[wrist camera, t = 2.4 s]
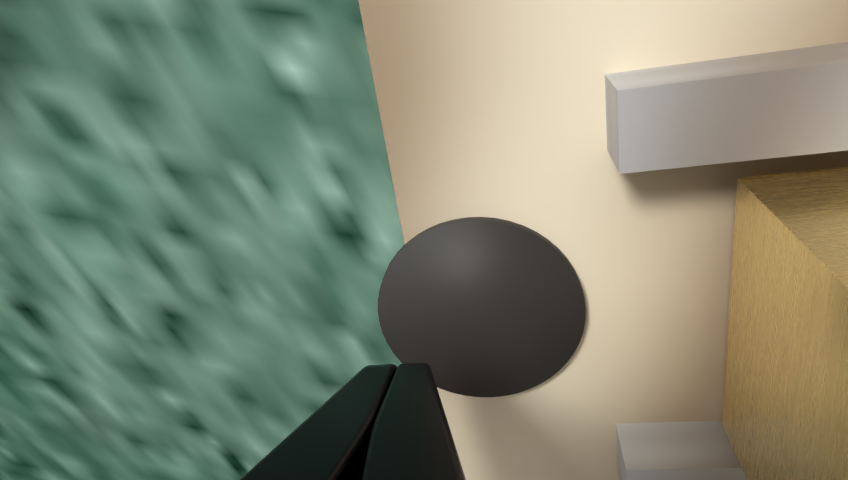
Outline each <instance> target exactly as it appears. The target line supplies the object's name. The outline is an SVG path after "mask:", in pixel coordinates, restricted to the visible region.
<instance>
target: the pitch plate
mask: <svg viewBox="0 0 848 480" xmlns="http://www.w3.org/2000/svg"><path fill="white" fill-rule="evenodd" d="M358 1H359V6H360V11H361V16H362V22H363V27H364V32H365V38H366V43H367V48H368V53H369V59H370V64H371V69H372V75H373V80H374V85H375V91H376V96H377V101H378V106H379V112H380V117H381V122H382V128H383V133H384V138H385V143H386V149H387V154H388V159H389V165H390V170H391V175H392V181H393V186H394V191H395V196H396V202H397V207H398V212H399V218H400V223H401V228H402V233H403V239H404V244H405V245H404V246H403V247H402V248H401V249H400V250H399V251H398V252H397V254H396V255H395V257H394V258H393V259H392V261H391V262H390V264H389V266H388V268H387V270H386V272H385V275H384V278H383V281H382V284H381V287H380V291H379V297H378V314H379V321H380V325H381V328H382V332H383V334H384V337H385V339H386V341H387V343H388V345H389V346H390V348H391V350H392V351H393V353H394V354H395V355H396V357H397V358H398V359H399V360H400V361H401V363H403V364H407V363H427V364H429V365H430V367H431V370H432V373H433V376H434V380H435V383H436V386H437V389H438V392H439V396H440V399H441V402H442V405H443V408H444V411H445V415H446V418H447V421H448V424H449V427H450V431H451V434H452V437H453V440H454V443H455V446H456V450H457V453H458V456H459V459H460V462H461V466H462V469H463V472H464V475H465V478H466V480H747V478H746V476H745V474H744V472H743V470H742V467H741V465H740V463H739V461H738V458H737V456H736V454H735V452H734V450H733V447H732V445H731V443H730V441H729V438H728V436H727V434H726V432H725V430H724V427H723V425H722V412H723V396H724V381H725V365H726V349H727V333H728V317H729V301H730V286H731V270H732V254H733V238H734V222H735V206H736V191H737V178H741V177H751V176H761V175H772V174H782V173H792V172H802V171H812V170H822V169H832V168H843V167H848V0H358Z"/></svg>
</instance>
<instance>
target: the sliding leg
mask: <svg viewBox="0 0 848 480" xmlns="http://www.w3.org/2000/svg"><path fill="white" fill-rule="evenodd" d="M722 425H723V427H724V430H725V432H726V434H727V436H728V438H729V441H730V443H731V445H732V447H733V450H734V452H735V454H736V456H737V458H738V461H739V463H740V465H741V467H742V470H743V472H744V474H745V476H746V478H747V480H848V167H843V168H832V169H822V170H812V171H802V172H792V173H782V174H772V175H761V176H751V177H741V178H737V191H736V206H735V222H734V238H733V254H732V270H731V286H730V301H729V317H728V333H727V349H726V365H725V381H724V396H723V412H722Z"/></svg>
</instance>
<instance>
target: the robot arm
mask: <svg viewBox="0 0 848 480" xmlns="http://www.w3.org/2000/svg"><path fill="white" fill-rule="evenodd" d="M240 480H466V478H465V475H464V472H463V469H462V466H461V462H460V459H459V456H458V453H457V450H456V446H455V443H454V440H453V437H452V434H451V431H450V427H449V424H448V421H447V418H446V415H445V411H444V408H443V405H442V402H441V399H440V396H439V392H438V389H437V386H436V383H435V380H434V376H433V373H432V370H431V367H430V365H429V364H427V363H407V364H401V365H399V366H398V367H397V366H395V365H393V364H387V365H369V366H366V367H365V368H363V369H362V370H361V371H360V372H359V373H357V374H356V375H355V376H354V377H353V378H352V379H351V380H350V381H349V382H347V383H346V384H345V385H344V386H343V387H342V388H341V389H340V390H339V391H338V392H336V393H335V394H334V395H333V396H332V397H331V398H330V399H329V400H328V401H326V402H325V403H324V404H323V405H322V406H321V407H320V408H319V409H318V410H316V411H315V412H314V413H313V414H312V415H311V416H310V417H309V418H308V419H307V420H305V421H304V422H303V423H302V424H301V425H300V426H299V427H298V428H297V429H295V430H294V431H293V432H292V433H291V434H290V435H289V436H288V437H287V438H285V439H284V440H283V441H282V442H281V443H280V444H279V445H278V446H277V447H276V448H274V449H273V450H272V451H271V452H270V453H269V454H268V455H267V456H266V457H264V458H263V459H262V460H261V461H260V462H259V463H258V464H257V465H256V466H255V467H253V468H252V469H251V470H250V471H249V472H248V473H247V474H246V475H245V476H243V477H242V478H241V479H240Z"/></svg>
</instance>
